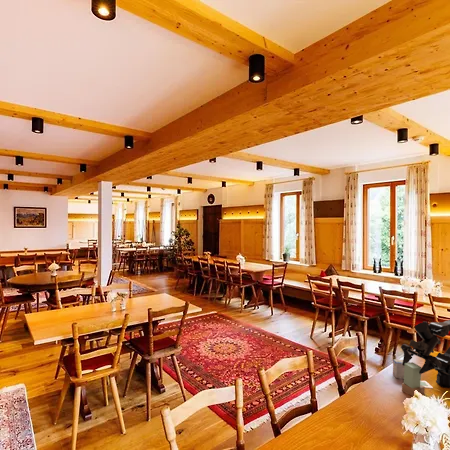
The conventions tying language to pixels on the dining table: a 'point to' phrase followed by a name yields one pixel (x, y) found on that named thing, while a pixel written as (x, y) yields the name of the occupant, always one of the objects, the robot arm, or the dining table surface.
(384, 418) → the dining table surface
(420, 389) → the walnut base block
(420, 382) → the card
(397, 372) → the medicine box
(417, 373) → the sage block
